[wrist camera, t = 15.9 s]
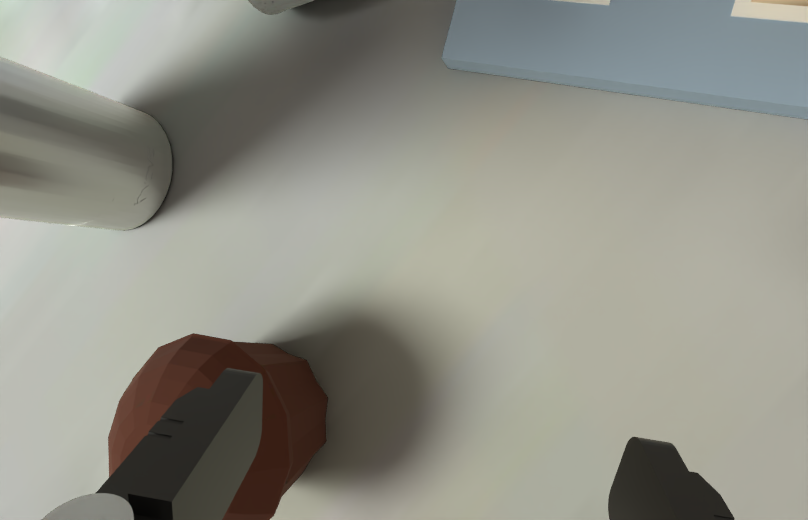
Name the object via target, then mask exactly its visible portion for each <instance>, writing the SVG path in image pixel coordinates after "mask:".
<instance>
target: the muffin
mask: <svg viewBox="0 0 808 520" xmlns="http://www.w3.org/2000/svg"><path fill="white" fill-rule="evenodd" d="M226 368H231V369H237V370H243V371H249V372H255V373H260V374H261V375H262V378H263V402H262V433H261V439H260V443H259V447H258V450H257V453H256V456H255V458H254V460H253V462H252V464H251V466H250V468H249V470H248V471H247V473H246V475H245V477H244V479H243V481H242V483H241V485H240V487H239V489H238V490H237V492H236V494H235V496H234V498H233V500H232V502H231V504H230V506H229V507H228V509H227V511H226V513H225V515H224V517H223V519H222V520H270V519H271V518H272V517H273V516H274V514H275V512H276V509H277V507H278V505H279V502H280V499H281V497H282V496H283V495H284V493H285V492H286V491H287V490H288V489H289V488H290V487H291V485H292V484H293V483H294V482H295V481H296V480H297V479H298V478H299V476H300V475H301V474H302V473H303V471H304V470H305V468H306V467H307V465H308V463H309V462H310V460H311V458H312V457H313V455H314V454H315V453H316V452H317V451H318V450H319V449H320V448H321V447H322V446H323V444H324V443H325V442H326V424H325V417H326V409H327V401H328V397H327V396H326V394H325V393H324V391H323V390H322V388H321V387H320V385H319V384H318V383H317V381H316V379H315V377H314V375H313V373H312V371H311V369H310V366H309V364H308V362H307V360H304V359H302V358H299V357H296V356H293V355H290V354H288V353H286V352H285V351H283V350H281V349H280V348H278V347H277V346H275V345H273V344H263V343H246V342H233V341H231V340H226V339H221V338H216V337H210V336H205V335H199V334H194V333H193V334H191V335H188V336H186V337H183V338H181V339H178V340H176V341H173V342H171V343H168V344H166V345H163V346H161V347H158V349H157V350H156V351H155V352H154V354H153V355H152V356H151V357H150V358H149V360H148V361H147V362H146V363H145V364H144V366H143V367H142V368H141V369H140V371H139V372H138V373H137V374H136V375H135V377H134V378H133V379H132V382H131V383H130V385H129V386H128V388H127V389H126V391H125V392H124V394H123V396H122V397H121V399H120V401H119V404H118V407H117V410H116V414H115V417H114V420H113V424H112V427H111V430H110V433H109V437H108V446H109V477H110V476H111V475H112V474H113V473H114V471H115V470H116V469H117V468H118V467H119V466H120V464H121V463H122V462H123V461H124V460H125V459H126V457H127V456H128V455H129V454H130V453H131V452H132V450H133V449H134V448H135V447H136V446H137V445H138V443H139V442H140V441H141V440H142V439H143V438H144V436H145V435H146V436H147V435H148V432H149V431H150V429H151V428H152V427H153V426H154V425H155V424H156V422H157V421H160V419H161V417H162V415H163V414H164V413H165V412H166V411H167V409H168V408H169V407H170V406H171V405H172V404H173V402H174V401H175V400H177V399H178V398H180V397H182V396H183V395H185V394H187V393H188V392H190V391H191V390H193V389H195V388H196V387H201V388H206V389H210V387H211V386H212V385H213V384H214V382H215V381H216V380H217V378H218V377H219V376H220V375H221V373H222V372H223V371H224V370H225V369H226Z"/></svg>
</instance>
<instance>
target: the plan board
mask: <svg viewBox="0 0 808 520" xmlns="http://www.w3.org/2000/svg"><path fill="white" fill-rule="evenodd" d="M442 60H443V61H444V63H445V64H446V66H447V68H449V69H456V70H463V71H470V72H477V73H484V74H491V75H499V76H506V77H513V78H520V79H527V80H534V81H541V82H548V83H555V84H562V85H569V86H576V87H583V88H590V89H597V90H604V91H611V92H618V93H625V94H632V95H639V96H647V97H654V98H661V99H668V100H675V101H682V102H689V103H696V104H703V105H710V106H717V107H724V108H731V109H738V110H745V111H752V112H759V113H766V114H773V115H780V116H787V117H794V118H802V119H808V6H796V5H783V4H771V3H758V2H751V0H457V1H456V4H455V8H454V12H453V16H452V20H451V23H450V27H449V31H448V35H447V39H446V43H445V46H444V50H443V54H442Z"/></svg>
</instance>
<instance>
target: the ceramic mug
mask: <svg viewBox="0 0 808 520" xmlns="http://www.w3.org/2000/svg"><path fill="white" fill-rule="evenodd" d="M248 1H249V2H250V3H251V4H252V5H253V6H254V7H255V8H256V9H258V10H259V11H261V12H263V13H265V14H269V15H274V14H278V13H281V12H283V11H286V10H288V9H291V8H294V7H297V6H300V5H303V4H306V3H309V2H312V1H314V0H248Z"/></svg>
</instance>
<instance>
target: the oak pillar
mask: <svg viewBox="0 0 808 520" xmlns="http://www.w3.org/2000/svg"><path fill="white" fill-rule="evenodd" d="M751 2H758V3H771V4H783V5H796V6H808V0H751Z"/></svg>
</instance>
